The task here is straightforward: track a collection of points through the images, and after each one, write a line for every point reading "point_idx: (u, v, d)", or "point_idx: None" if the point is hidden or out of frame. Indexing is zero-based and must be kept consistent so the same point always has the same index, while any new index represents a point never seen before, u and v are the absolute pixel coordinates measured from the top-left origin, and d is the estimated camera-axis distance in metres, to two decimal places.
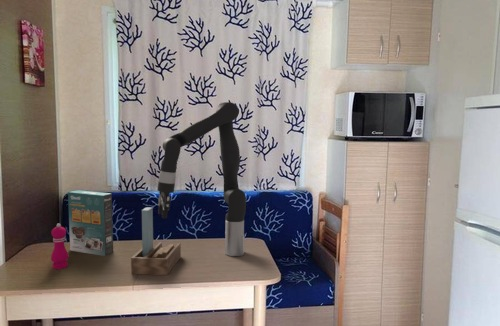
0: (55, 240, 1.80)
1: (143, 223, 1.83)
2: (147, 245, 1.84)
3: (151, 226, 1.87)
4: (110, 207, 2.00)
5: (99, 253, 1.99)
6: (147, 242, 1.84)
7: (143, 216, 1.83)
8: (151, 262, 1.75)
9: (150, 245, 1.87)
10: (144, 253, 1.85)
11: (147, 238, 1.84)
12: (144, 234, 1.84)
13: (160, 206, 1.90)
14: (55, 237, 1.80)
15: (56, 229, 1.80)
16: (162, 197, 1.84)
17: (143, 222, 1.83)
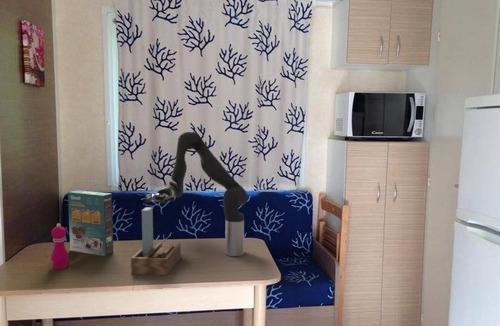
0: (55, 240, 1.80)
1: (143, 223, 1.83)
2: (147, 245, 1.84)
3: (151, 226, 1.87)
4: (110, 207, 2.00)
5: (99, 253, 1.99)
6: (147, 242, 1.84)
7: (143, 216, 1.83)
8: (151, 262, 1.75)
9: (150, 245, 1.87)
10: (144, 253, 1.85)
11: (147, 238, 1.84)
12: (144, 234, 1.84)
13: None
14: (55, 237, 1.80)
15: (56, 229, 1.80)
16: None
17: (143, 222, 1.83)
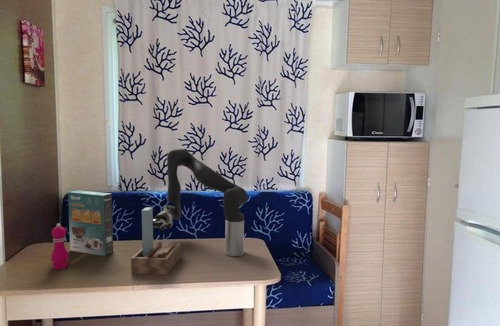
0: (55, 240, 1.80)
1: (143, 223, 1.83)
2: (147, 245, 1.84)
3: (151, 226, 1.87)
4: (110, 207, 2.00)
5: (99, 253, 1.99)
6: (147, 242, 1.84)
7: (143, 216, 1.83)
8: (151, 262, 1.75)
9: (150, 245, 1.87)
10: (144, 253, 1.85)
11: (147, 238, 1.84)
12: (143, 234, 1.84)
13: None
14: (55, 237, 1.80)
15: (56, 229, 1.80)
16: None
17: (143, 222, 1.83)
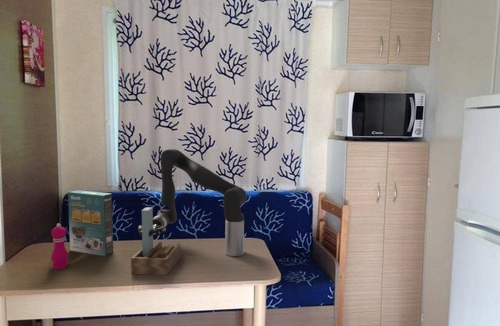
0: (55, 240, 1.80)
1: (143, 223, 1.83)
2: (147, 245, 1.84)
3: (151, 226, 1.87)
4: (110, 207, 2.00)
5: (99, 253, 1.99)
6: (147, 242, 1.84)
7: (143, 216, 1.83)
8: (151, 262, 1.75)
9: (150, 245, 1.87)
10: (144, 253, 1.85)
11: (147, 238, 1.84)
12: (143, 234, 1.84)
13: None
14: (55, 237, 1.80)
15: (56, 229, 1.80)
16: None
17: (143, 222, 1.83)
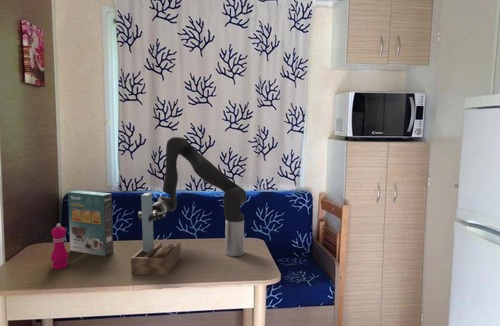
0: (55, 240, 1.80)
1: (143, 208, 1.82)
2: (147, 230, 1.83)
3: (151, 211, 1.87)
4: (110, 207, 2.00)
5: (99, 253, 1.99)
6: (147, 227, 1.83)
7: (143, 201, 1.82)
8: (151, 262, 1.75)
9: (150, 230, 1.86)
10: (144, 238, 1.84)
11: (147, 223, 1.83)
12: (143, 219, 1.83)
13: None
14: (55, 237, 1.80)
15: (56, 229, 1.80)
16: None
17: (143, 207, 1.82)
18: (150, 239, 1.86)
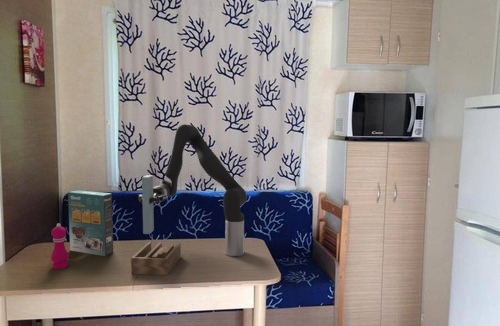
0: (55, 240, 1.80)
1: (143, 190, 1.82)
2: (147, 212, 1.83)
3: (151, 194, 1.86)
4: (110, 207, 2.00)
5: (99, 253, 1.99)
6: (147, 209, 1.83)
7: (143, 183, 1.82)
8: (151, 262, 1.75)
9: (151, 213, 1.86)
10: (144, 221, 1.84)
11: (147, 205, 1.83)
12: (144, 201, 1.83)
13: None
14: (55, 237, 1.80)
15: (56, 229, 1.80)
16: None
17: (143, 189, 1.82)
18: (150, 221, 1.86)
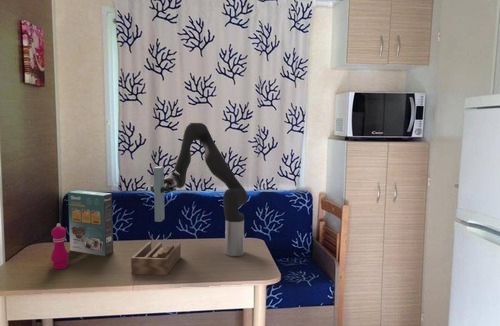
0: (55, 240, 1.80)
1: (155, 180, 1.93)
2: (159, 201, 1.94)
3: (162, 184, 1.97)
4: (110, 207, 2.00)
5: (99, 253, 1.99)
6: (158, 198, 1.94)
7: (155, 173, 1.93)
8: (151, 262, 1.75)
9: (162, 202, 1.97)
10: (156, 209, 1.95)
11: (159, 195, 1.94)
12: (155, 191, 1.94)
13: None
14: (55, 237, 1.80)
15: (56, 229, 1.80)
16: None
17: (155, 179, 1.93)
18: (161, 210, 1.96)
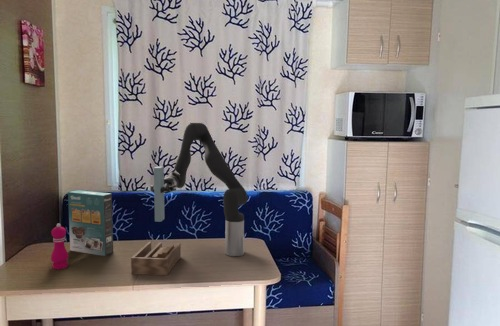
0: (55, 240, 1.80)
1: (155, 180, 1.93)
2: (159, 201, 1.94)
3: (162, 184, 1.97)
4: (110, 207, 2.00)
5: (99, 253, 1.99)
6: (158, 198, 1.94)
7: (155, 173, 1.93)
8: (151, 262, 1.75)
9: (162, 202, 1.97)
10: (156, 209, 1.95)
11: (159, 195, 1.94)
12: (155, 191, 1.94)
13: None
14: (55, 237, 1.80)
15: (56, 229, 1.80)
16: None
17: (155, 179, 1.93)
18: (161, 210, 1.96)
